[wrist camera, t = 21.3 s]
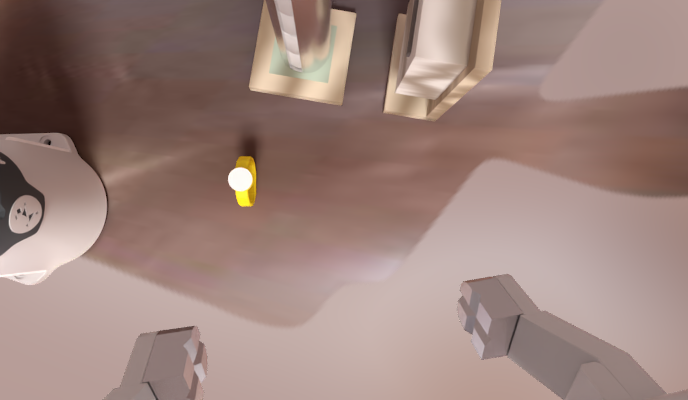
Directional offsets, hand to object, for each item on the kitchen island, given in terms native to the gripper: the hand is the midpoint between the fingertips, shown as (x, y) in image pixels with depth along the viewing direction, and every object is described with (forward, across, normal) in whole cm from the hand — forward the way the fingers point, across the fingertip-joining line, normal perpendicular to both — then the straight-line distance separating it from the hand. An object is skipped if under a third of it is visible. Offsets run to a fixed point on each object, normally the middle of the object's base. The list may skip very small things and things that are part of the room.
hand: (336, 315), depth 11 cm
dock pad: (+44, -3, 0) cm, 44 cm away
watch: (+36, +6, +14) cm, 39 cm away
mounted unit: (+41, -17, +3) cm, 45 cm away
